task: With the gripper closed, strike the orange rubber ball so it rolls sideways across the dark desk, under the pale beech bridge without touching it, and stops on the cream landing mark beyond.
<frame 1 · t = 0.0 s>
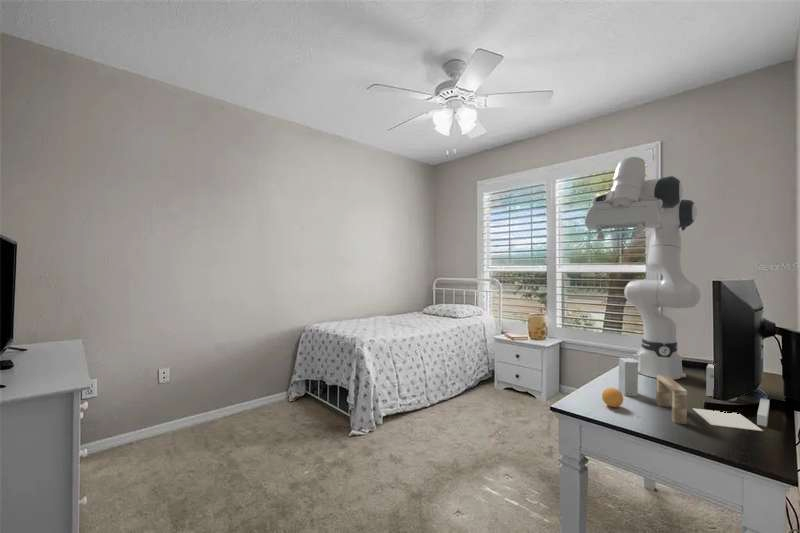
hand: (616, 238, 112), 54 cm above the table, tool tilted 30°, fingers open, 8 cm apart
skincare box: (627, 393, 131), on the table
ball: (612, 397, 119), on the table
small box: (721, 397, 127), on the table
bridge: (670, 413, 114), on the table
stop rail: (763, 416, 112), on the table
landing mark: (725, 419, 110), on the table
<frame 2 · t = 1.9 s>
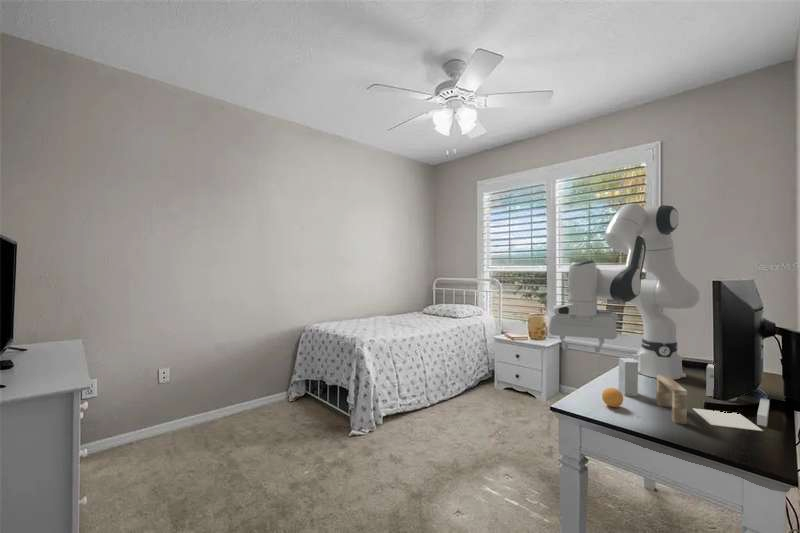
hand: (581, 350, 122), 18 cm above the table, tool pointing down, fingers open, 8 cm apart
nothing on the table moved.
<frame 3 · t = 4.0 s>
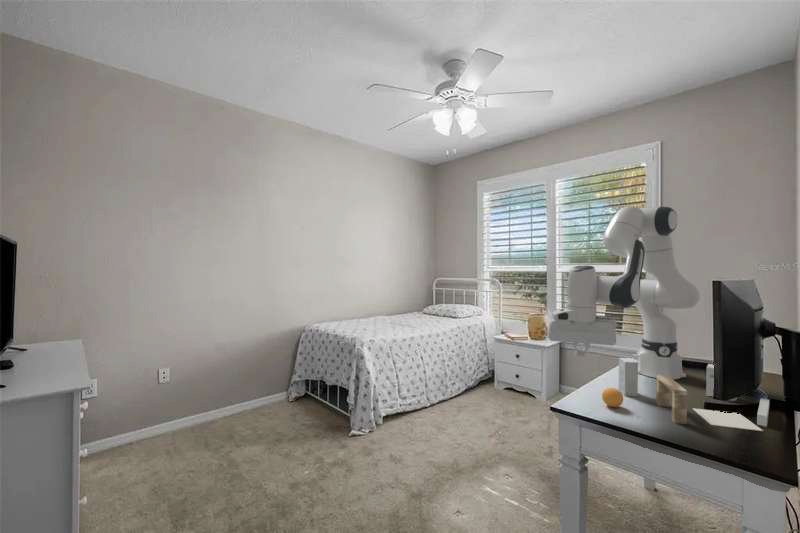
hand: (580, 356, 122), 16 cm above the table, tool pointing down, fingers closed
nothing on the table moved.
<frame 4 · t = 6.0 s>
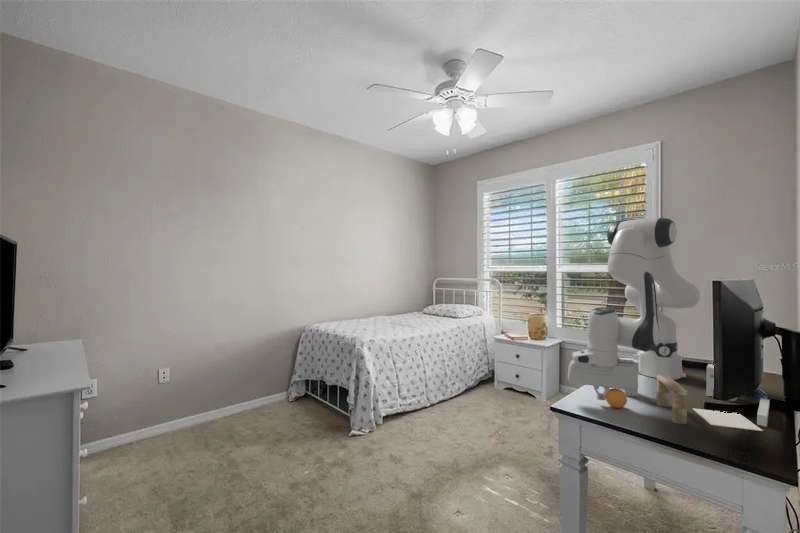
hand: (601, 399, 120), 2 cm above the table, tool pointing down, fingers closed
ball: (616, 398, 119), on the table, touching gripper
everything else where it was.
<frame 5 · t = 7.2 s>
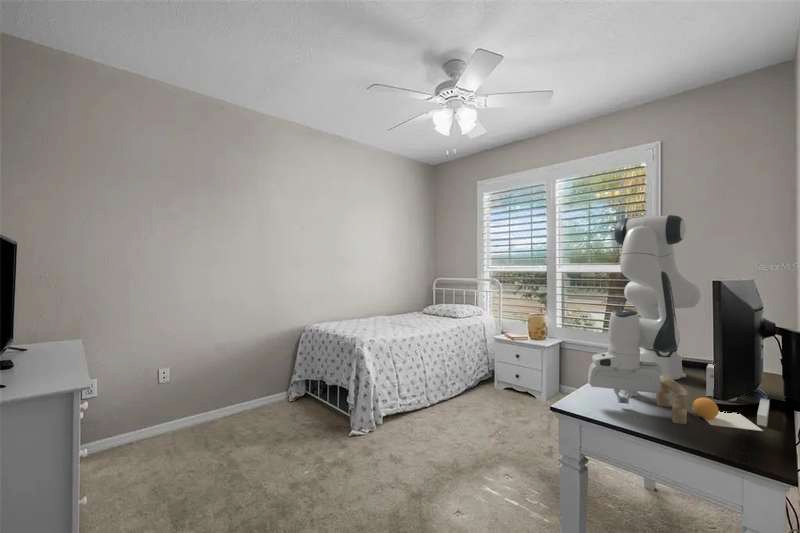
hand: (622, 402, 118), 2 cm above the table, tool pointing down, fingers closed
ball: (705, 408, 111), on the table
everything else where it was.
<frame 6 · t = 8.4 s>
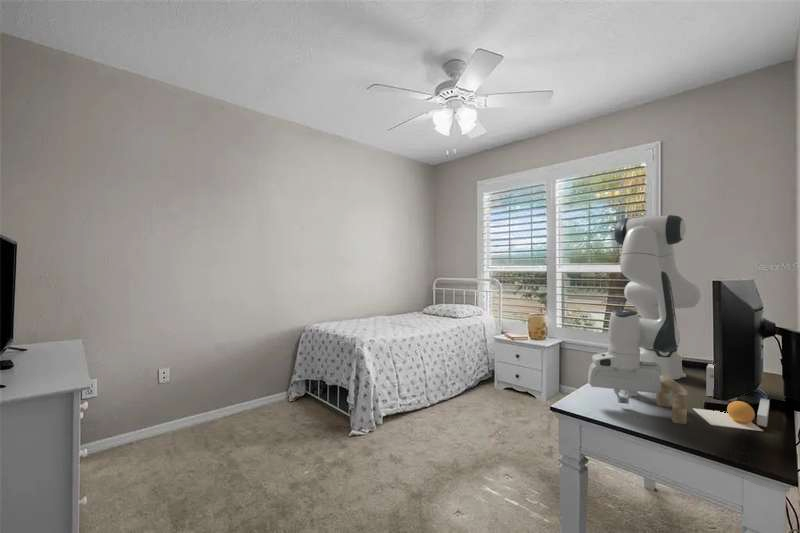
hand: (622, 402, 118), 2 cm above the table, tool pointing down, fingers closed
ball: (740, 411, 108), on the table
everything else where it was.
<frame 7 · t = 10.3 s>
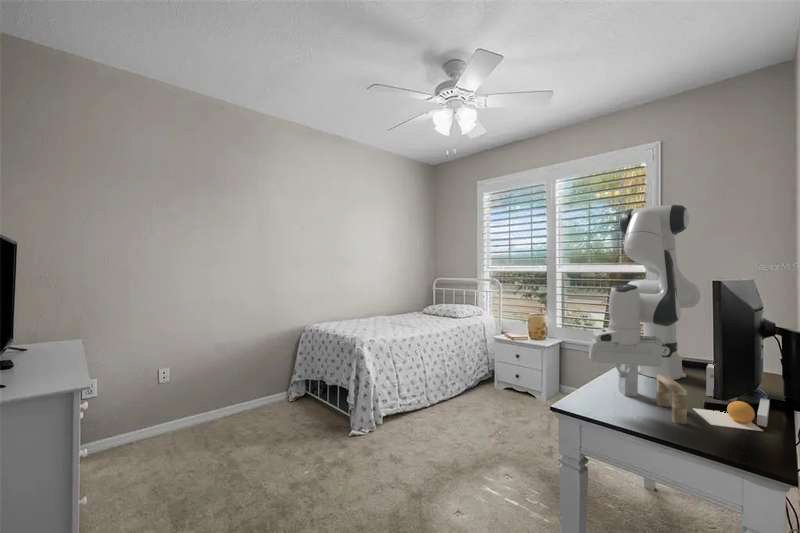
hand: (624, 377, 119), 10 cm above the table, tool pointing down, fingers closed
nothing on the table moved.
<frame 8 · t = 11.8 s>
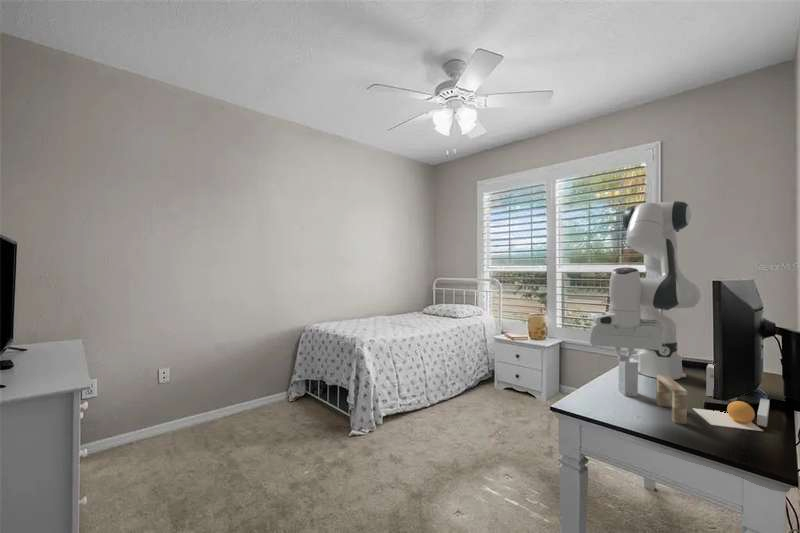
hand: (623, 361, 118), 15 cm above the table, tool pointing down, fingers closed
nothing on the table moved.
at the end: ball 3.4 cm from the landing mark (horizontally); ball never touched bridge; ball at rest at the end (0.0 cm/s) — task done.
